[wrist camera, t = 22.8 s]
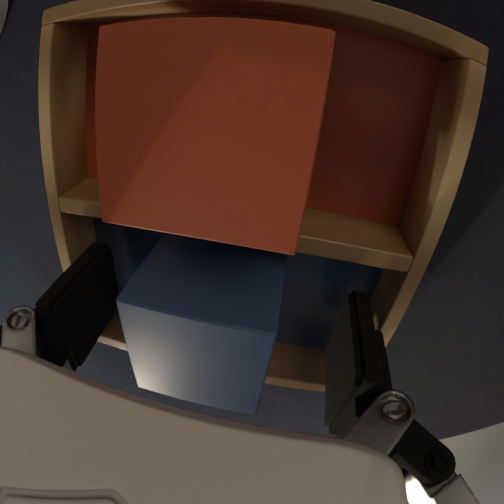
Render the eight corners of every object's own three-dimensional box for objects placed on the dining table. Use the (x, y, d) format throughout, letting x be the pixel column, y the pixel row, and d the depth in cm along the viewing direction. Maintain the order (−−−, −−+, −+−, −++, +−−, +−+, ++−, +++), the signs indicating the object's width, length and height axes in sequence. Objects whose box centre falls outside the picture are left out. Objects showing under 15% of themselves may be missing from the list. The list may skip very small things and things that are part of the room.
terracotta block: (170, 165, 10) (101, 222, 7) (178, 39, 8) (98, 26, 4) (299, 184, 10) (295, 256, 6) (321, 51, 8) (336, 30, 4)
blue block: (174, 310, 14) (137, 387, 10) (170, 224, 12) (114, 299, 8) (269, 329, 14) (255, 415, 10) (287, 244, 11) (277, 334, 8)
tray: (90, 14, 8) (42, 10, 6) (448, 49, 7) (490, 47, 5) (107, 300, 16) (82, 336, 13) (352, 349, 15) (355, 395, 12)
